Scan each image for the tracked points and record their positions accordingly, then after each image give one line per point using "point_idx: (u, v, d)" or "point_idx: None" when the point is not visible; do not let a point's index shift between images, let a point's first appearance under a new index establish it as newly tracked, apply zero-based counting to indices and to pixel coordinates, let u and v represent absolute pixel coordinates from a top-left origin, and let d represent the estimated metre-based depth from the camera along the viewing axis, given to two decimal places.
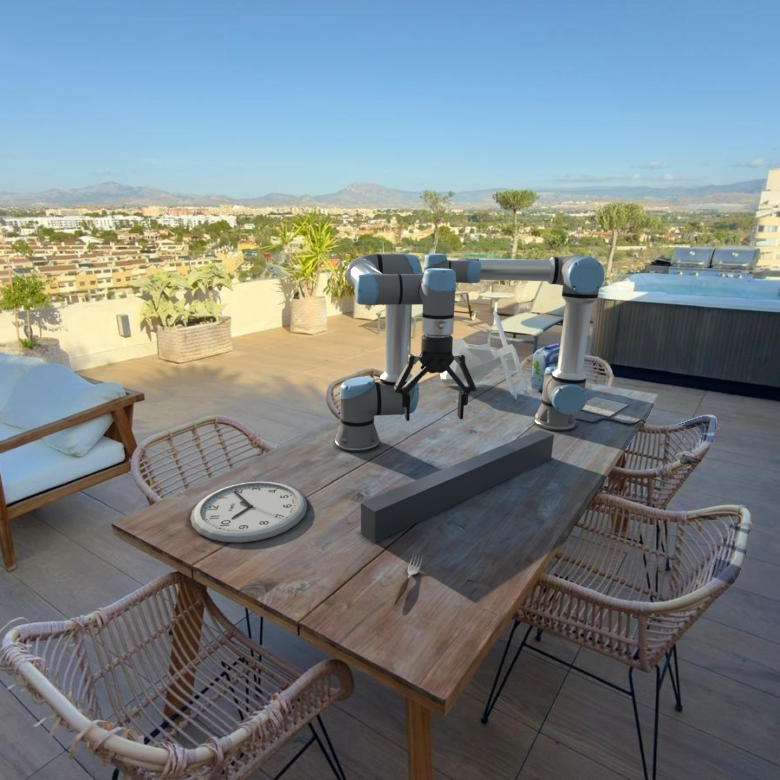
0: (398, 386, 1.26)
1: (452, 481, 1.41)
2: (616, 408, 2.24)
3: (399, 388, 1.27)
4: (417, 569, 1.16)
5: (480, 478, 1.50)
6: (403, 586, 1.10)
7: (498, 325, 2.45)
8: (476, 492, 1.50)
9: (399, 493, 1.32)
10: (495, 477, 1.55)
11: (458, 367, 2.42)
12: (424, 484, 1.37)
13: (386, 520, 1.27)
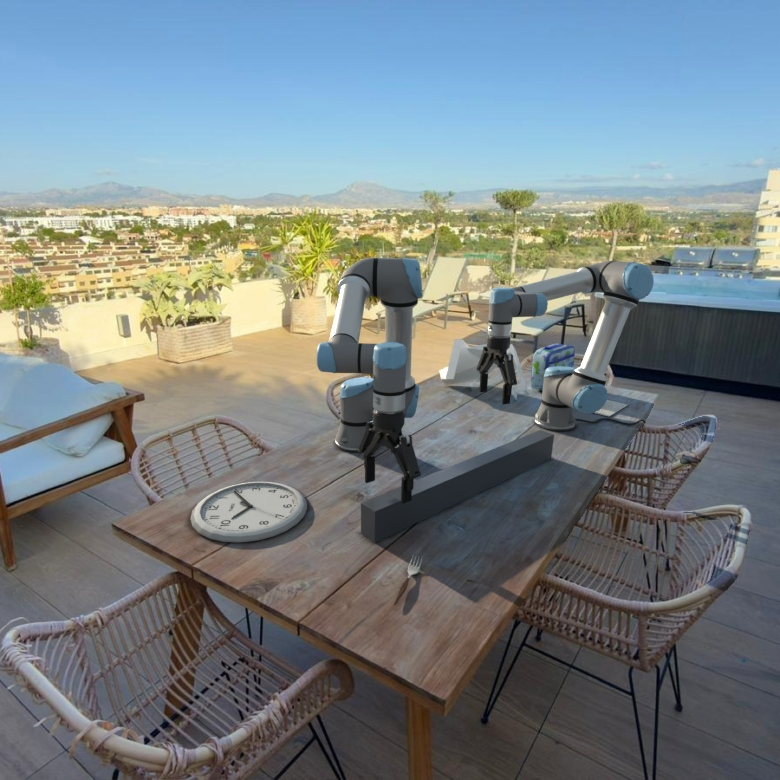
0: (360, 447, 1.32)
1: (452, 481, 1.41)
2: (616, 408, 2.24)
3: (360, 449, 1.32)
4: (417, 569, 1.16)
5: (480, 478, 1.50)
6: (403, 586, 1.10)
7: None
8: (476, 492, 1.50)
9: (399, 493, 1.32)
10: (495, 477, 1.55)
11: (458, 367, 2.42)
12: (424, 484, 1.37)
13: (386, 520, 1.27)
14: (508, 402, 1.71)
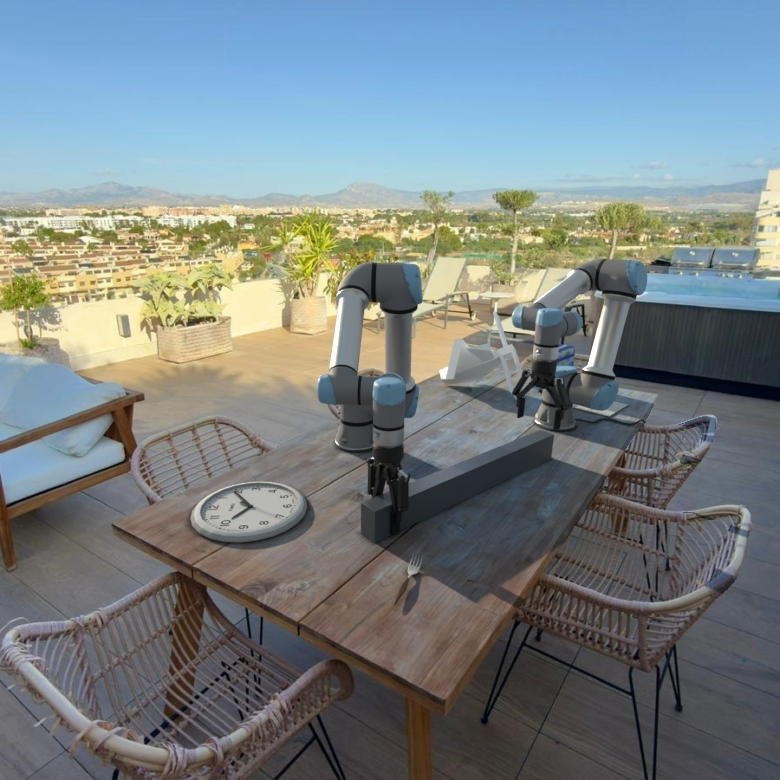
0: (368, 488, 1.33)
1: (452, 481, 1.41)
2: (616, 408, 2.24)
3: (369, 490, 1.33)
4: (417, 569, 1.16)
5: (480, 478, 1.50)
6: (403, 586, 1.10)
7: (498, 325, 2.45)
8: (476, 492, 1.50)
9: None
10: (495, 477, 1.55)
11: (458, 367, 2.42)
12: (424, 484, 1.37)
13: (386, 520, 1.27)
14: (559, 427, 1.64)
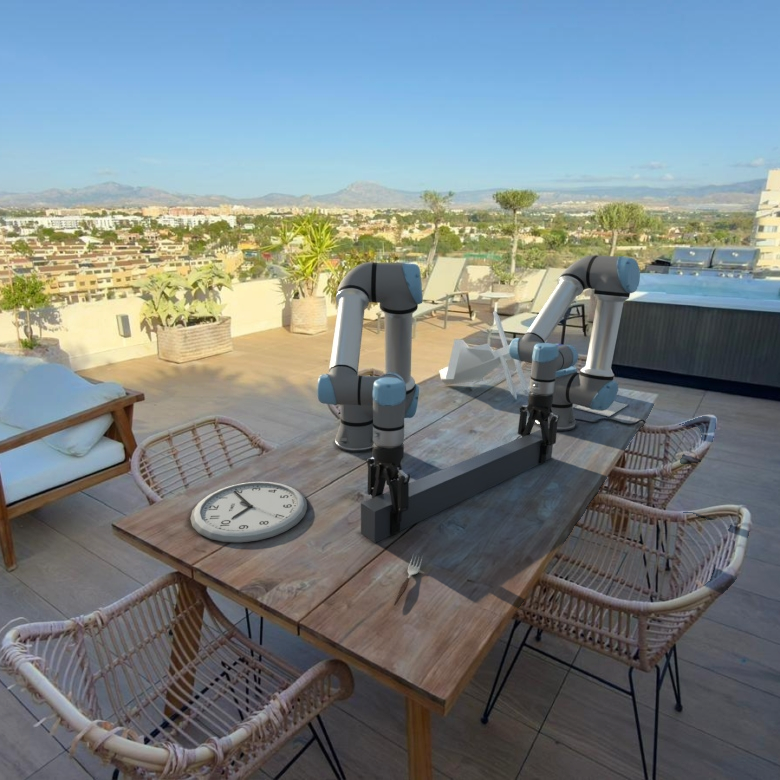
0: (368, 488, 1.33)
1: (452, 481, 1.41)
2: (616, 408, 2.24)
3: (369, 490, 1.33)
4: (417, 569, 1.16)
5: (480, 478, 1.50)
6: (403, 586, 1.10)
7: (498, 325, 2.45)
8: (476, 492, 1.50)
9: None
10: (495, 477, 1.55)
11: (458, 367, 2.42)
12: (424, 484, 1.37)
13: (386, 520, 1.27)
14: (544, 460, 1.70)
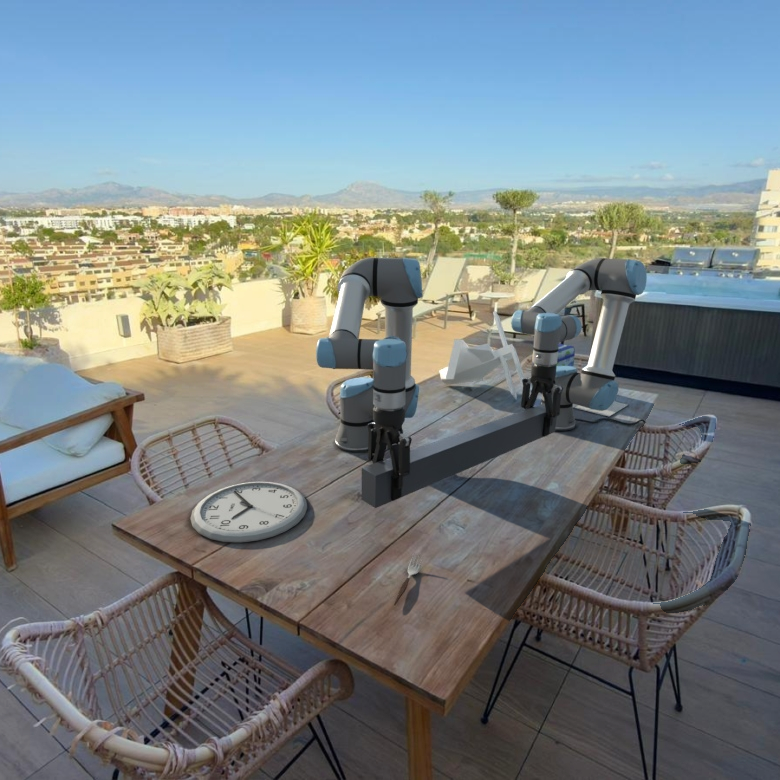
0: (368, 454, 1.30)
1: (454, 449, 1.39)
2: (616, 408, 2.24)
3: (369, 456, 1.30)
4: (417, 569, 1.16)
5: (483, 447, 1.47)
6: (403, 586, 1.10)
7: (498, 325, 2.45)
8: (479, 462, 1.48)
9: None
10: (498, 447, 1.52)
11: (458, 367, 2.42)
12: (426, 451, 1.35)
13: (387, 485, 1.25)
14: (548, 433, 1.68)
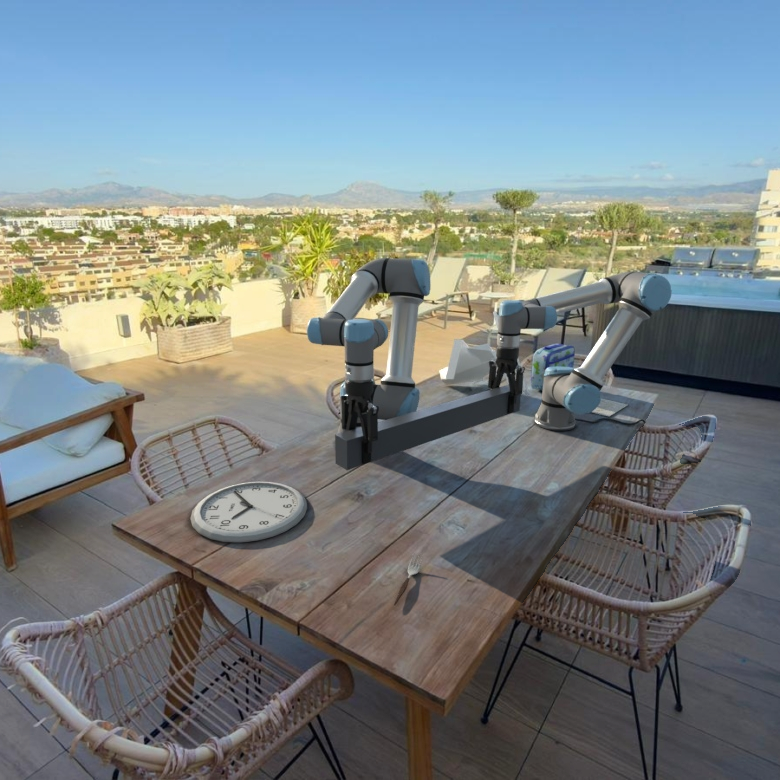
0: (342, 423, 1.46)
1: (421, 421, 1.54)
2: (616, 408, 2.24)
3: (343, 425, 1.46)
4: (417, 569, 1.16)
5: (449, 421, 1.63)
6: (403, 586, 1.10)
7: None
8: (445, 434, 1.63)
9: None
10: (464, 422, 1.68)
11: (458, 367, 2.42)
12: (395, 422, 1.50)
13: (358, 450, 1.40)
14: (512, 411, 1.83)
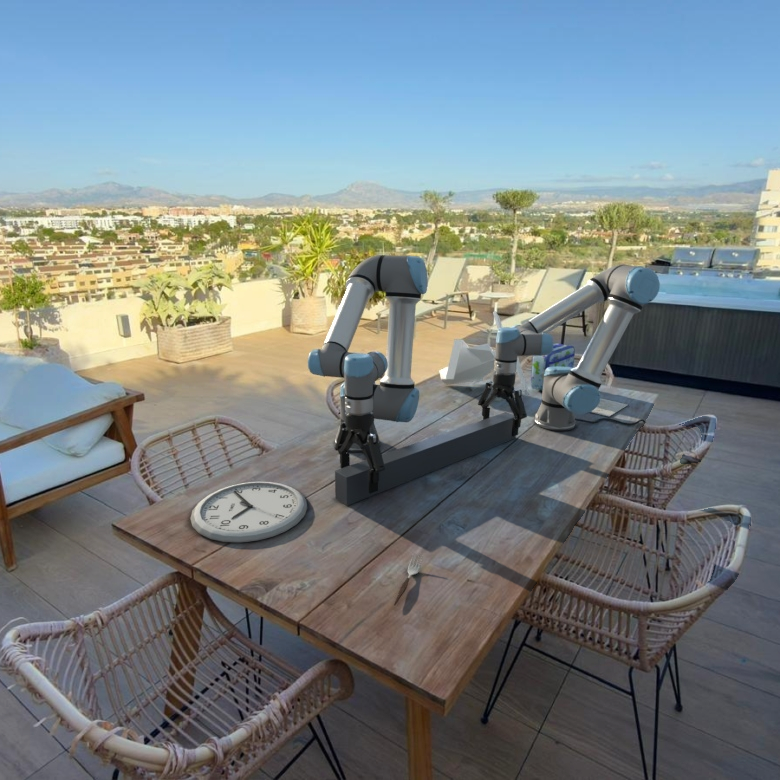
0: (336, 445, 1.50)
1: (419, 454, 1.58)
2: (616, 408, 2.24)
3: (336, 447, 1.50)
4: (417, 569, 1.16)
5: (446, 452, 1.66)
6: (403, 586, 1.10)
7: (498, 325, 2.45)
8: (442, 465, 1.66)
9: None
10: (461, 452, 1.71)
11: (458, 367, 2.42)
12: (393, 456, 1.53)
13: (357, 485, 1.43)
14: (516, 433, 1.83)
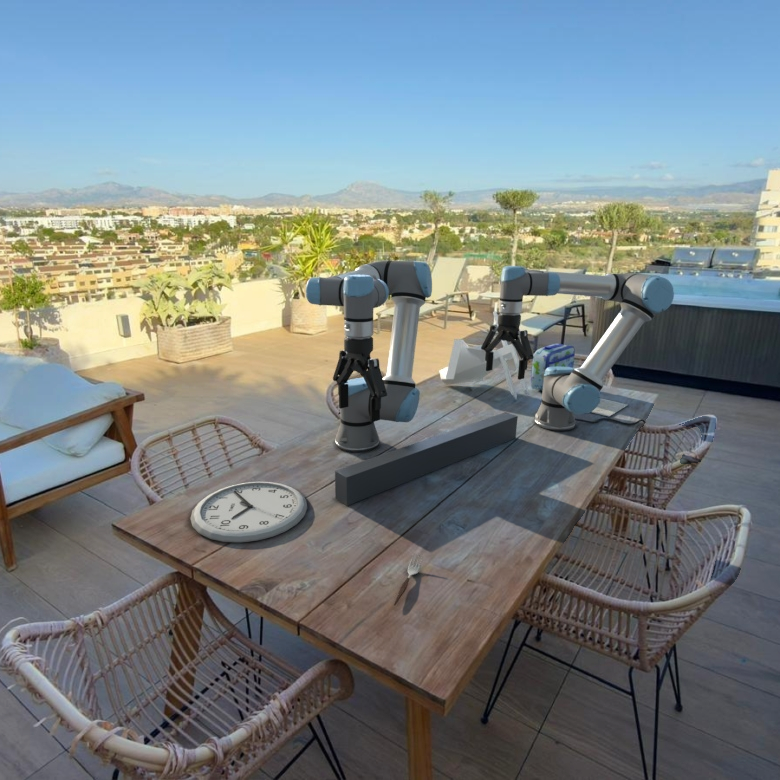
0: (334, 375, 1.44)
1: (419, 454, 1.58)
2: (616, 408, 2.24)
3: (334, 377, 1.44)
4: (417, 569, 1.16)
5: (446, 452, 1.66)
6: (403, 586, 1.10)
7: None
8: (442, 465, 1.66)
9: (370, 463, 1.49)
10: (461, 452, 1.71)
11: (458, 367, 2.42)
12: (393, 456, 1.53)
13: (357, 485, 1.43)
14: (523, 377, 1.77)
